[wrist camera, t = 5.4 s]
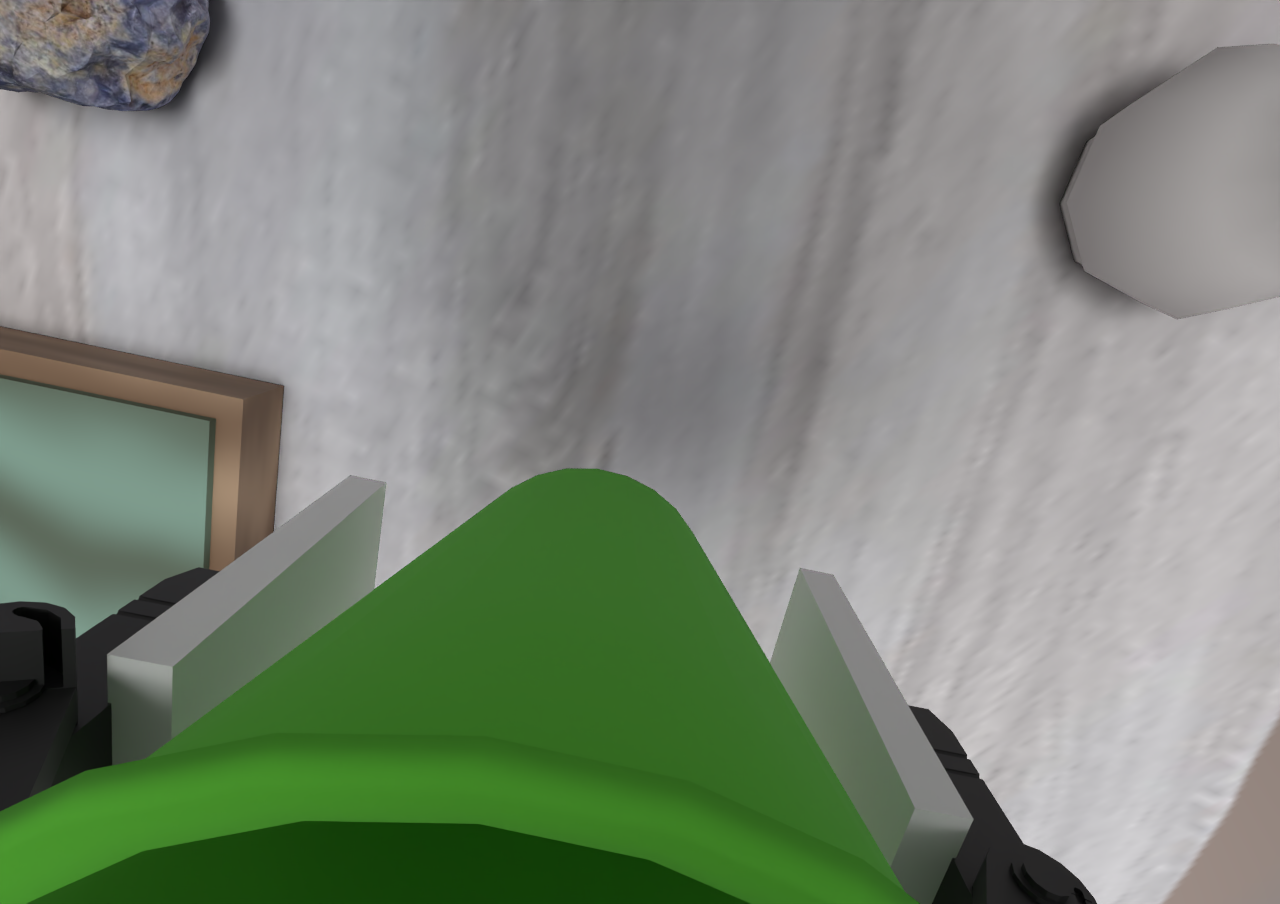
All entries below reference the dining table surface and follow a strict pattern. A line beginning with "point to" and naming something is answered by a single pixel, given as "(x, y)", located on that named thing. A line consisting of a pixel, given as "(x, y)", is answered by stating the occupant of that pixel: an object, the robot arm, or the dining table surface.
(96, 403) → the tray
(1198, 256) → the potion bottle
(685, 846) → the cup
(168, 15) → the rock
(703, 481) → the dining table surface
